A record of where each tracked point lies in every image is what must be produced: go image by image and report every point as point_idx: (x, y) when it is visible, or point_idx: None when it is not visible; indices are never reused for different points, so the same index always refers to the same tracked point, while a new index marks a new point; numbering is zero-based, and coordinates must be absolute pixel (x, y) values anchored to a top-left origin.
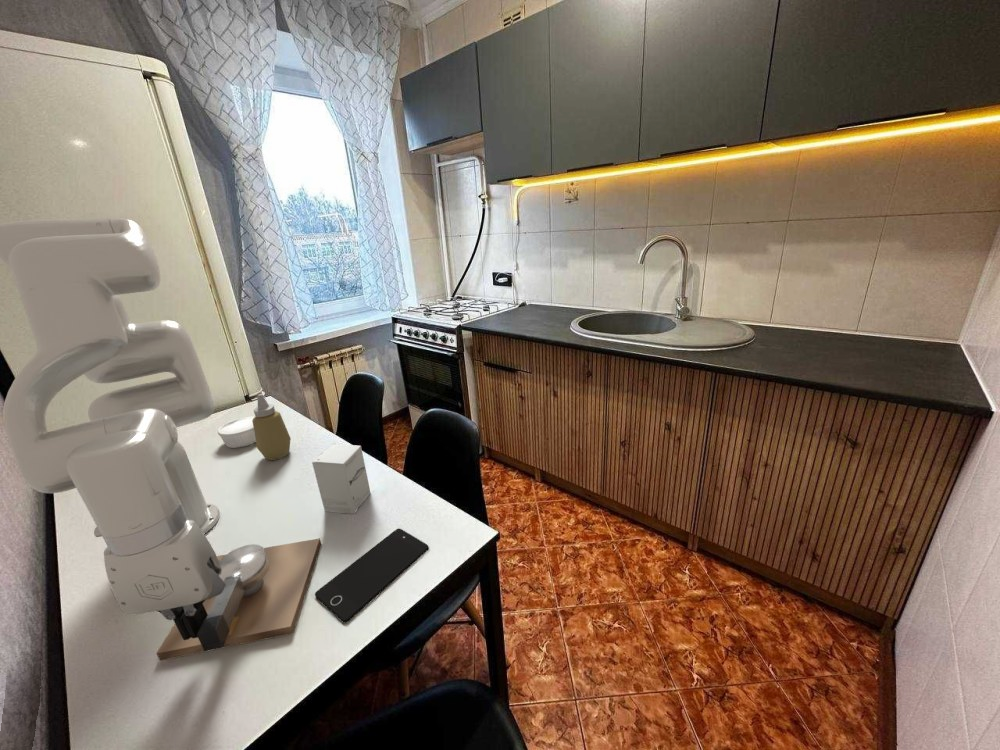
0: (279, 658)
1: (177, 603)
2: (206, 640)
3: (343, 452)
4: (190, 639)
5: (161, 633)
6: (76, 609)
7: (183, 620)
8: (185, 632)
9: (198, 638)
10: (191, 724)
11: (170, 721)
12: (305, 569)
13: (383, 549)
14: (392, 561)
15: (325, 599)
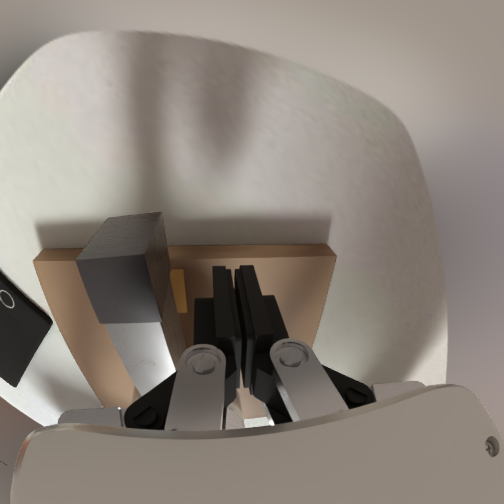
0: (41, 194)
1: (183, 470)
2: (130, 235)
3: None
4: (268, 276)
5: (343, 300)
6: (443, 338)
7: (233, 330)
8: (243, 285)
9: (149, 243)
10: (175, 64)
11: (233, 81)
12: (90, 376)
13: (6, 364)
14: None
15: (23, 306)
